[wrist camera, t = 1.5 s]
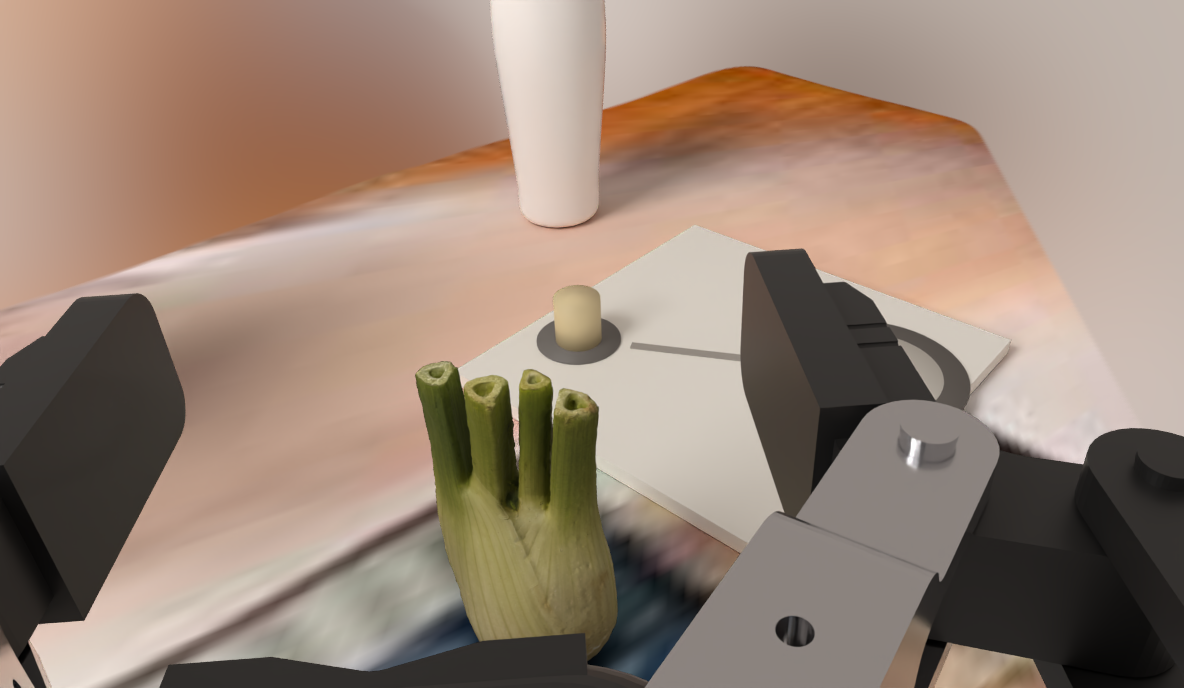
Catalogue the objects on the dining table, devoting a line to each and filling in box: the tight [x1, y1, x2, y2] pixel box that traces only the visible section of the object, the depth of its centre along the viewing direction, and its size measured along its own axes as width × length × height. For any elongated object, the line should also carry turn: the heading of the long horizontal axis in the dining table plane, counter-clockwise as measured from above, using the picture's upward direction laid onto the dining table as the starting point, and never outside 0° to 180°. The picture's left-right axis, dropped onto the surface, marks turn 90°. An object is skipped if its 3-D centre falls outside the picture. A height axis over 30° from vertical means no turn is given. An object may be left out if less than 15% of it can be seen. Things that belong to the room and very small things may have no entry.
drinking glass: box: [490, 0, 606, 227], centre depth 57 cm, size 7×7×15 cm
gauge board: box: [458, 225, 1011, 553], centre depth 45 cm, size 20×20×3 cm
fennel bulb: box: [415, 361, 618, 661], centre depth 30 cm, size 6×5×12 cm
